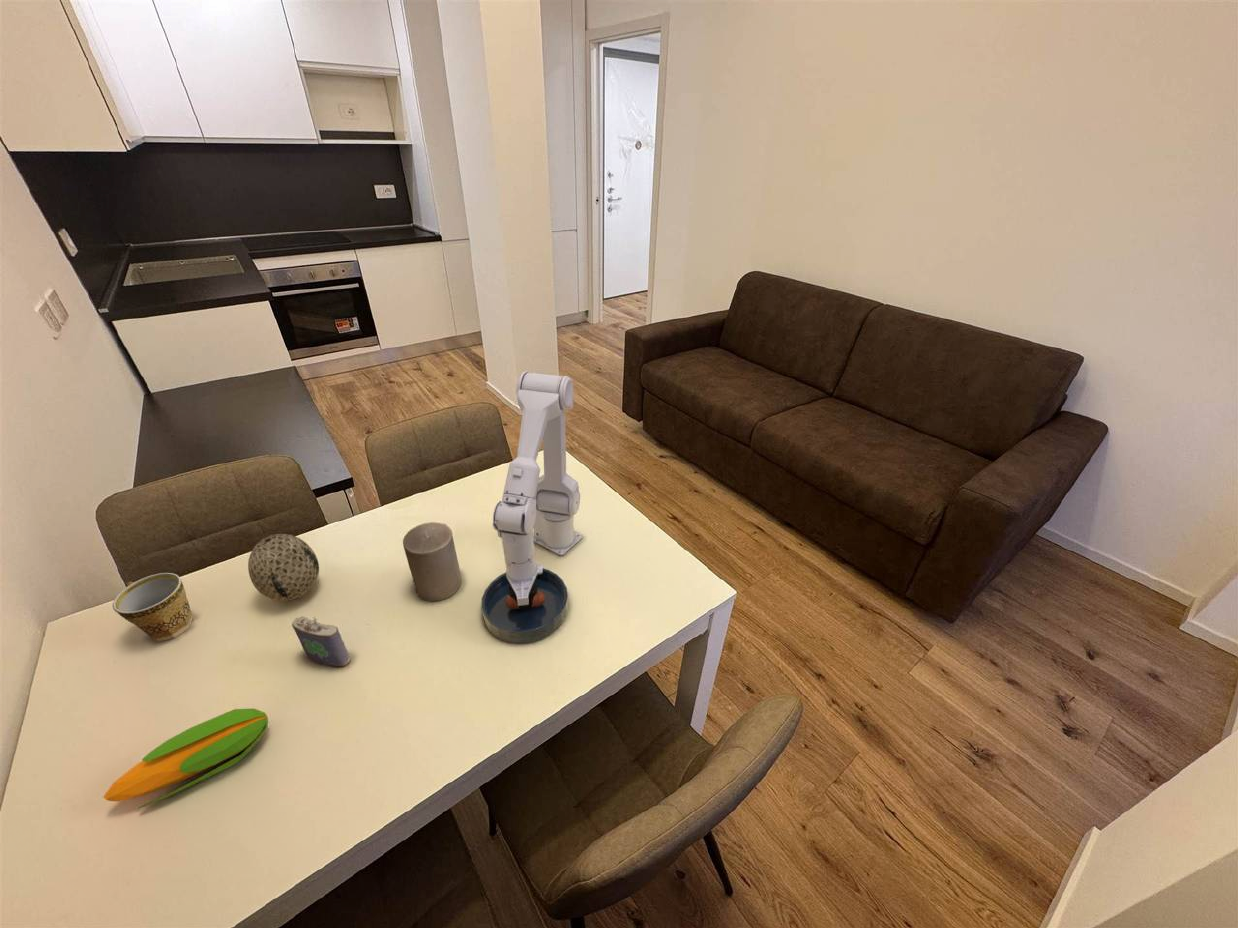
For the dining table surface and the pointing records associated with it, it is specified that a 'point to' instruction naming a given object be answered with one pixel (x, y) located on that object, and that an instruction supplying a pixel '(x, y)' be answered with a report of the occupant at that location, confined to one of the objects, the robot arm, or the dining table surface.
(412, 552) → the pillar candle
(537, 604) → the sausage
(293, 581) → the decorative egg
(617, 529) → the dining table surface
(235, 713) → the corn
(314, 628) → the flask
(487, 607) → the bowl
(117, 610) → the ceramic cup
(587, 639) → the dining table surface
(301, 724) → the dining table surface
